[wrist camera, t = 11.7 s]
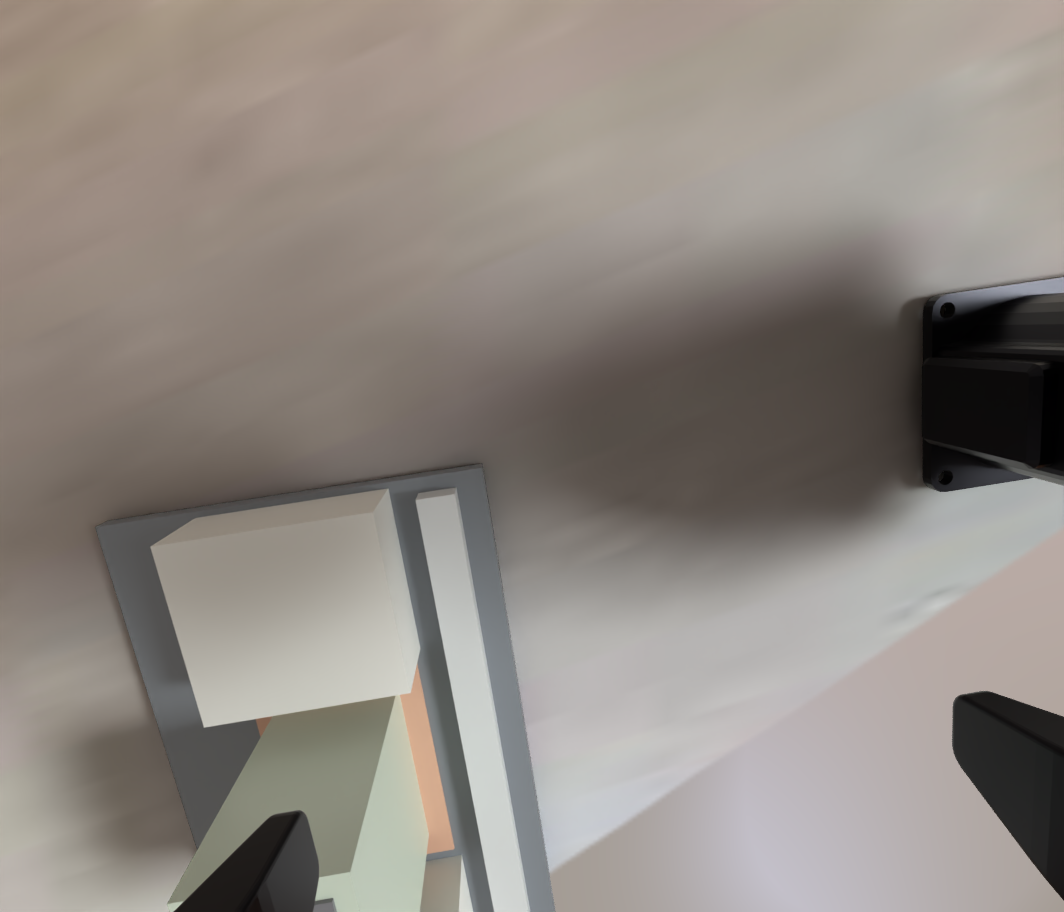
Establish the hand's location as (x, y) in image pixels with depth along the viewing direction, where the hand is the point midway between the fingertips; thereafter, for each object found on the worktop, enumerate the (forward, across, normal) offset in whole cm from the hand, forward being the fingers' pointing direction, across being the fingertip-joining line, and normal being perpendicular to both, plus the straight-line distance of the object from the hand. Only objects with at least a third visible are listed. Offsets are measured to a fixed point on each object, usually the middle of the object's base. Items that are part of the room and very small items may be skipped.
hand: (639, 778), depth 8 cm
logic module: (+11, +8, +8) cm, 16 cm away
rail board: (+12, +8, +8) cm, 16 cm away
